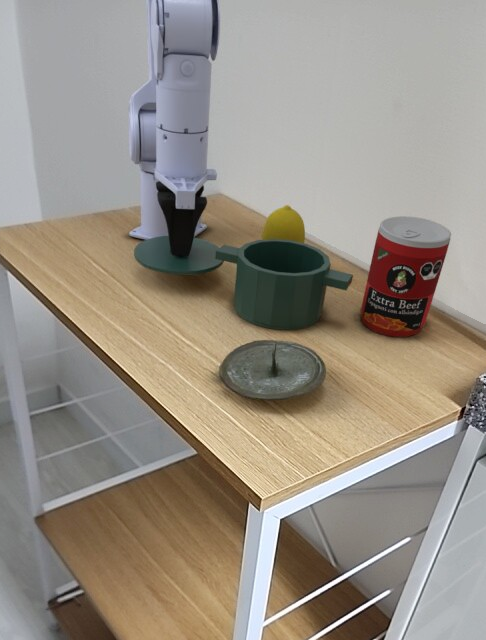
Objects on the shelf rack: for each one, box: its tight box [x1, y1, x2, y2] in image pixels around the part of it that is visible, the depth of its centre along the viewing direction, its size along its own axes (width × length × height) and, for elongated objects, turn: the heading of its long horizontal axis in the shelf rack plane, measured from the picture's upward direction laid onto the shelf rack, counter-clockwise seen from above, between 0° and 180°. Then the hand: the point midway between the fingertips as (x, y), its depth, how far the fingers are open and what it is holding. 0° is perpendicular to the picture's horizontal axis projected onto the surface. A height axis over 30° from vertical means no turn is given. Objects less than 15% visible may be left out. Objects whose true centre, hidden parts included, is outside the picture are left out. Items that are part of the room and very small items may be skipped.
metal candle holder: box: [218, 339, 327, 402], centre depth 62 cm, size 11×10×5 cm
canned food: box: [360, 215, 452, 338], centre depth 72 cm, size 8×8×11 cm
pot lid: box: [133, 236, 225, 276], centre depth 78 cm, size 11×11×5 cm
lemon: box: [261, 204, 306, 243], centre depth 83 cm, size 6×6×8 cm
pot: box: [215, 239, 354, 331], centre depth 74 cm, size 10×16×6 cm, turn 67°
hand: (179, 249), depth 79 cm, fingers closed on pot lid, 2 cm apart
